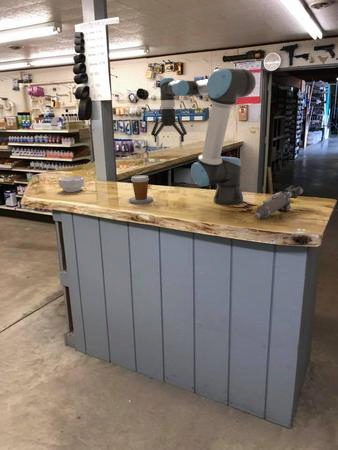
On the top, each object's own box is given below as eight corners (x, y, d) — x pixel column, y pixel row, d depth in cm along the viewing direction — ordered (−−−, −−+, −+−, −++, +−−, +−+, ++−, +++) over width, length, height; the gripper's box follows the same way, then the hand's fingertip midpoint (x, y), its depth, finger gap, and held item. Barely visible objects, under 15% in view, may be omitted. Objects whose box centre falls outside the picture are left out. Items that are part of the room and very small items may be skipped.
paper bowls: (87, 188, 238) (86, 175, 236) (80, 193, 224) (78, 180, 221) (65, 188, 240) (63, 176, 237) (56, 193, 225) (54, 180, 223)
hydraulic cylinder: (304, 201, 180) (304, 181, 176) (263, 230, 158) (262, 209, 154) (290, 198, 185) (289, 179, 181) (248, 227, 163) (247, 206, 159)
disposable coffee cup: (147, 201, 194) (146, 178, 190) (130, 200, 196) (128, 178, 192) (151, 196, 203) (150, 175, 199) (135, 196, 205) (133, 175, 201)
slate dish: (156, 198, 203) (156, 196, 203) (147, 204, 192) (147, 202, 191) (134, 197, 208) (134, 195, 207) (124, 203, 196) (124, 201, 195)
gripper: (191, 107, 201) (192, 147, 207) (148, 109, 208) (150, 147, 214) (188, 107, 194) (189, 148, 200) (144, 109, 201) (146, 148, 207)
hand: (169, 148), depth 207 cm, fingers open, 13 cm apart
